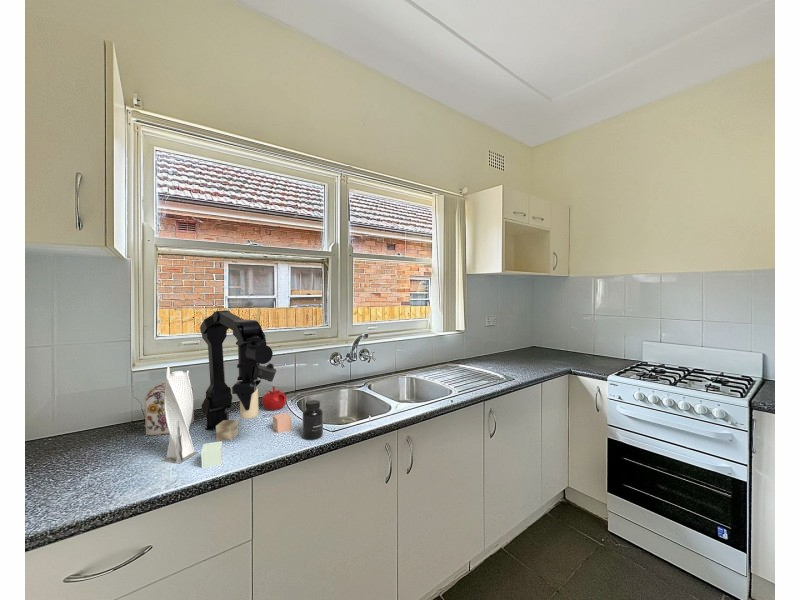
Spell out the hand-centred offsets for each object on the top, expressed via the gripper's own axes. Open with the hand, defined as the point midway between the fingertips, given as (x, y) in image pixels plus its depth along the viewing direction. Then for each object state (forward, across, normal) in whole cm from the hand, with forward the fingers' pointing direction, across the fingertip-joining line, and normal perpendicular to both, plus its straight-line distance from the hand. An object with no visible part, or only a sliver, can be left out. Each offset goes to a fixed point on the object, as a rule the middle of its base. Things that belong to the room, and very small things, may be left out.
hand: (249, 406), depth 115 cm
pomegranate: (+13, +35, -4) cm, 38 cm away
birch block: (+13, +9, +9) cm, 18 cm away
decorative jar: (+13, +22, +31) cm, 40 cm away
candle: (+3, 0, 0) cm, 3 cm away
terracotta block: (+13, +11, -9) cm, 19 cm away
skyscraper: (+13, -2, +20) cm, 24 cm away
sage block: (+13, -9, +9) cm, 18 cm away
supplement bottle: (+13, +2, -20) cm, 24 cm away
